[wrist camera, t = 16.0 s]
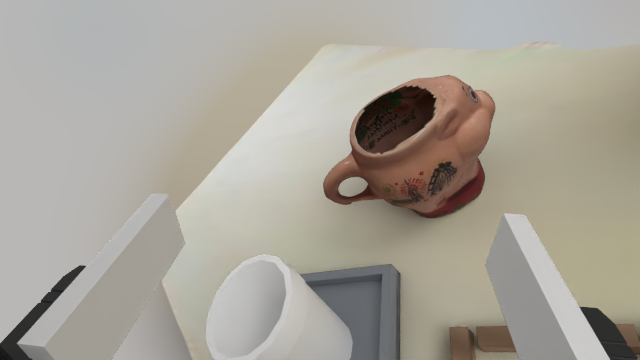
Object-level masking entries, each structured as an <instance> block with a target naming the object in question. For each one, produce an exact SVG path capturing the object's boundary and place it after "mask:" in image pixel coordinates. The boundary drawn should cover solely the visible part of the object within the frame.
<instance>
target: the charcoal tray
mask: <svg viewBox="0 0 640 360" xmlns="http://www.w3.org/2000/svg"><path fill="white" fill-rule="evenodd" d="M300 276H301V277H302V278H303V279H304V280H305V283H306V284H307V285H308V286H309V287H310V288H311V289H312V290H313V291H314V292H315V293H316V294H317V295H318V296H319V297H320V298H321V299H322V300H323V301H324V302H325V303H326V304H327V305H328V306H329V307H330V309H331V310H332V311H333V312H334V313H335V314H336V315H337V316H338V317H339V318H340V319H341V320H342V321H343V322H344V323H345V325H346V326H347V327H348V328H349V329H350V333H351V337H352V341H353V345H352V352H351V358H350V360H400V273H399V272H398V271H397V270H396V268H395V267H394V266H393V265H392V264H387V265H378V266H370V267H361V268H353V269H344V270H336V271H327V272H319V273H310V274H302V275H300Z"/></svg>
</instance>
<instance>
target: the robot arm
mask: <svg viewBox="0 0 640 360" xmlns="http://www.w3.org/2000/svg"><path fill="white" fill-rule="evenodd" d="M184 244H185V241H184V238H183V234H182V231H181V228H180V225H179V222H178V219H177V216H176V213H175V210H174V207H173V204H172V201H171V197H170V195H169V194H153V193H152V194H151V195H150V196H149V197H148V199H147V200H146V201H145V202H144V203H143V204H142V205H141V206H140V207H139V209H138V210H137V211H136V212H135V213H134V214H133V215H132V216H131V217H130V219H129V220H128V221H127V222H126V223H125V224H124V225H123V226H122V227H121V228H120V230H119V231H118V232H117V233H116V234H115V235H114V236H113V237H112V238H111V240H110V241H109V242H108V243H107V244H106V245H105V246H104V248H102V250H101V251H100V252H99V253H98V254H97V255H96V256H95V257H94V258H93V260H92V261H91V262H90V263H89V264H88V265H87V266H78V267H77V268H75V269H74V270H72V271H71V272H69V273H68V274H66V275H65V276H63V278H62V279H61V280H60V281H59V282H58V283H57V284H56V285H55V286H54V287H53V288H52V290H51V292H48V293H47V294H46V295H45V297H44V298H43V299H42V300H41V303H38V304H37V305H36V306H35V307H34V308H33V309H32V310H31V311H30V312H29V314H28V315H27V316H26V317H25V318H24V319H23V320H22V321H21V322H20V323H19V324H18V325H17V326H16V327H15V328H14V329H13V331H12V332H11V333H10V334H9V335H8V336H7V337H6V338H5V339H4V340H3V341H2V342H1V343H0V360H111V359H112V358H113V356H114V355H115V353H116V352H117V350H118V348H119V347H120V345H121V344H122V342H123V341H124V339H125V337H126V336H127V334H128V333H129V331H130V330H131V328H132V326H133V325H134V323H135V322H136V320H137V319H138V317H139V315H140V314H141V312H142V311H143V309H144V307H145V306H146V304H147V303H148V301H149V300H150V298H151V296H152V295H153V293H154V292H155V290H156V289H157V287H158V285H159V284H160V282H161V281H162V279H163V278H164V276H165V274H166V273H167V271H168V270H169V268H170V267H171V265H172V263H173V262H174V260H175V259H176V257H177V255H178V254H179V252H180V251H181V249H182V248H183V246H184ZM485 266H486V269H487V272H488V274H489V277H490V280H491V283H492V285H493V288H494V291H495V294H496V296H497V299H498V302H499V305H500V307H501V310H502V313H503V316H504V318H505V321H506V324H507V326H508V329H509V332H510V335H511V337H512V340H513V343H514V346H515V348H516V351H517V354H518V357H519V359H520V360H637V357H636V355H635V354H634V352H633V351H632V349H631V348H630V346H627V342H626V340H625V339H624V337H623V336H622V334H621V333H620V331H619V330H618V328H617V326H616V325H615V324H614V323H613V322H612V321H611V320H610V319H609V318H608V317H606V316H605V315H604V314H603V313H602V312H601V311H600V310H599V309H598V308H589V307H579V306H578V304H577V302H576V301H575V299H574V297H573V295H572V294H571V292H570V290H569V289H568V287H567V285H566V284H565V282H564V280H563V278H562V277H561V275H560V273H559V272H558V270H557V268H556V266H555V265H554V263H553V261H552V260H551V258H550V256H549V255H548V253H547V251H546V249H545V248H544V246H543V244H542V243H541V241H540V239H539V237H538V236H537V234H536V232H535V231H534V229H533V227H532V226H531V224H530V222H529V220H528V219H527V217H526V215H523V214H505V213H503V215H502V218H501V221H500V224H499V227H498V230H497V233H496V236H495V238H494V241H493V244H492V247H491V250H490V253H489V256H488V259H487V261H486V264H485Z"/></svg>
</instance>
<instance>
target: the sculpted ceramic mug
mask: <svg viewBox="0 0 640 360" xmlns="http://www.w3.org/2000/svg"><path fill="white" fill-rule="evenodd" d="M494 112H495V103H494V101H493V99H492V97H491V96H490V95H489V94H488V93H487V92H485V91H482V90H475V91H473V89H472V88H471V87H470V86H469V85H467V84H465V83H464V82H462V81H461V80H460V79H458V78H457V77H454V76H450V75H447V76H440V77H434V78H419V79H414V80H411V81H408V82H406V83H404V84H402V85H400V86H398V87H396V88H394V89H392V90H389V91H387V92H385V93H383V94H381V95H380V96H378V97H376V98H375V99H373V100H372V101H371V102H369V103H368V104H367V105H366V106H365V107H364V108H362V109H361V111H360V112H359V113H358V114H357V116H356V117H355V119H354V121H353V123H352V126H351V129H350V143H351V147H352V152H351V153H350V154H349V155H348V156H347V157H346V158H345V159H344V160H342V161H341V162H339V163H338V164H337V165H336V166H335V167H333V168H332V170H331V171H330V172H329V173H328V175H327V176H326V178H325V180H324V183H323V187H324V192H325V195H326V197H327V198H329V199H330V200H332V201H333V202H336V203H339V204H343V205H348V204H351V203H352V202H356V201H361V200H374V199H385V201H387V202H388V203H390V204H392V205H395V206H399V207H407V208H411V209H413V210H414V211H415V212H416V213H418V214H419V215H421V216H423V217H427V218H437V217H442V216H445V215H448V214H450V213H453V212H455V211H457V210H459V209H460V208H462V207H463V206H465V205H466V204H467V203H469V202H470V201H472V200H474V199H475V198H476V197H478V196H479V194H480V193H481V191H482V188H483V185H484V181H485V174H484V171H483V168H482V165H481V163H480V161H479V159H478V156H479V154H480V153H481V152H482V150H483V149H484V147H485V146H486V144H487V141H488V139H489V135H490V128H491V122H492V119H493V116H494ZM350 177H361V178H363V179H364V180H366V182H367V183H368V186H367V188H366V189H365V190H364V191H363V192H362V193H360V194H358V195H355V196H352V197H346V196H342V195H341V194H340V193H339V191H338V187H339V185H340V183H341V182H342V181H344V180H345V179H347V178H350Z"/></svg>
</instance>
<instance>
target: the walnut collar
mask: <svg viewBox="0 0 640 360" xmlns="http://www.w3.org/2000/svg"><path fill="white" fill-rule="evenodd" d="M615 325H616V326H617V328H618V330H619V331H620V333H621V334H622V336H623V337H624V339H625V340H626V342H627V346H630V348H631V349H632V351H633V352H634V354H640V341H639V338H638V336H637V333H636V331H635V328H634V325H633V324H615ZM476 330H477V338H478V345H479V347H480V348H481V349H482V350H483V351H484V352H517V351H516V348H515V346H514V343H513V340H512V337H511V335H510V332H509V329H508V326H490V327H476ZM450 340H451V353H452V360H476V356H475V347H474V338H473V333H472V332H471V331H470V330H469V329H468V327H450Z"/></svg>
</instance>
